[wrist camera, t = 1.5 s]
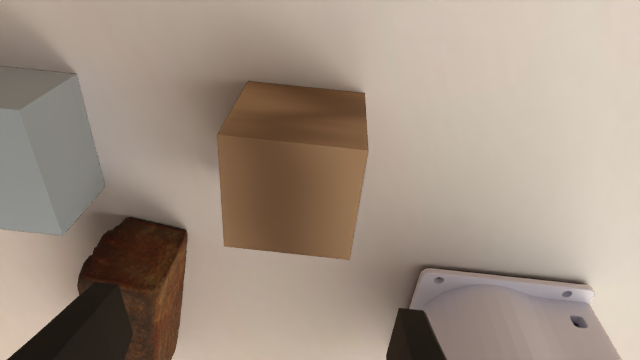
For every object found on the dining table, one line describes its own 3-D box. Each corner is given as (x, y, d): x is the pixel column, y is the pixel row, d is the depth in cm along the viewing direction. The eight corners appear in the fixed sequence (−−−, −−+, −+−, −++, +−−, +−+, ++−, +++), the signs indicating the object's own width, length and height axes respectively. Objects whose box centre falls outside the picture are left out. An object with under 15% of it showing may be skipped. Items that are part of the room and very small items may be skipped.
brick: (118, 210, 23) (69, 275, 19) (191, 227, 23) (158, 294, 19) (122, 327, 28) (86, 395, 25) (180, 340, 29) (153, 408, 25)
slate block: (79, 72, 18) (18, 110, 15) (106, 184, 22) (62, 235, 18) (-57, 58, 18) (-146, 93, 15) (-8, 172, 22) (-73, 221, 18)
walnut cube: (364, 92, 18) (368, 150, 14) (350, 187, 21) (349, 259, 17) (248, 80, 18) (217, 134, 14) (249, 176, 21) (224, 246, 17)
